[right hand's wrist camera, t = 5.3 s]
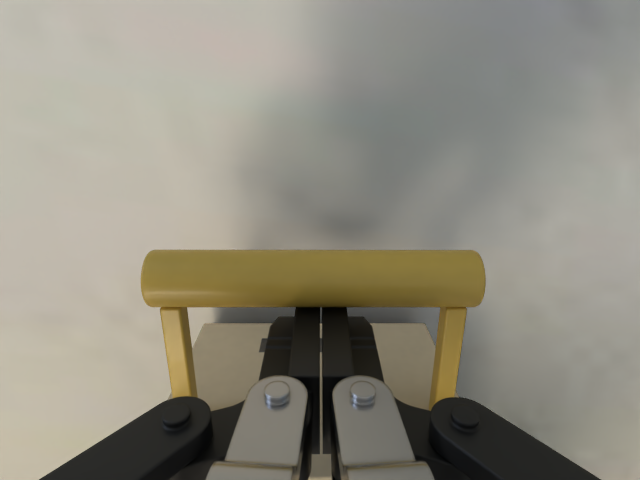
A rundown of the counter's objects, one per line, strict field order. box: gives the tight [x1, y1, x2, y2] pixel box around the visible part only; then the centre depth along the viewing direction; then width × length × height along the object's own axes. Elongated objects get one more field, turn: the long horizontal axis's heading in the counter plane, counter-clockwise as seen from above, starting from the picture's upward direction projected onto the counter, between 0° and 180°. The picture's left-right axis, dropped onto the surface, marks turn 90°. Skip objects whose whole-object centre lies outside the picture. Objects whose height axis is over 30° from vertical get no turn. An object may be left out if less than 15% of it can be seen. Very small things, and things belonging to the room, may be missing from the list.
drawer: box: [141, 250, 485, 480], centre depth 16 cm, size 20×10×8 cm, turn 0°
